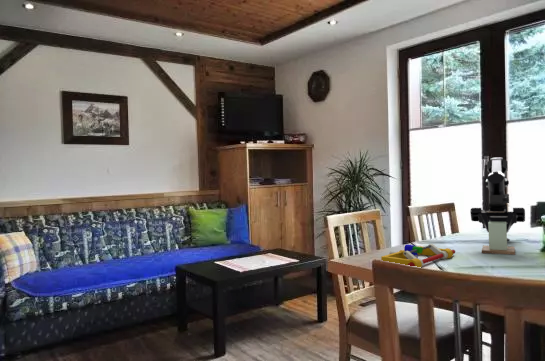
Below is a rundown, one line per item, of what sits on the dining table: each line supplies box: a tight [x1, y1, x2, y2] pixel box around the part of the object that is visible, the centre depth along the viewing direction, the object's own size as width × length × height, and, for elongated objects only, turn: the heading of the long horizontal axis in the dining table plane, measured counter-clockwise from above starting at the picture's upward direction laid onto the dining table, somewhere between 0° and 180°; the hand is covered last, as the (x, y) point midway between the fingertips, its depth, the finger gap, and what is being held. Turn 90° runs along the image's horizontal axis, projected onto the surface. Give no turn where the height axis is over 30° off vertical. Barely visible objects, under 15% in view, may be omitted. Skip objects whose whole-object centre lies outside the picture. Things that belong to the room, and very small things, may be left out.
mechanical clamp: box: [380, 243, 456, 268], centre depth 154 cm, size 18×6×30 cm
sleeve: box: [488, 222, 508, 250], centre depth 161 cm, size 5×6×10 cm
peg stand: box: [481, 245, 516, 256], centre depth 162 cm, size 11×11×5 cm
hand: (497, 231), depth 160 cm, fingers closed on sleeve, 6 cm apart
